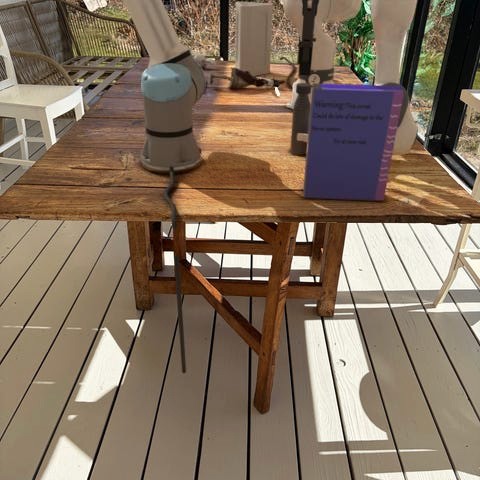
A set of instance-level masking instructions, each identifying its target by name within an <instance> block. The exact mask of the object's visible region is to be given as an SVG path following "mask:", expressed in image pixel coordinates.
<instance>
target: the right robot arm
mask: <svg viewBox="0 0 480 480" xmlns="http://www.w3.org/2000/svg"><path fill="white" fill-rule="evenodd" d="M362 2H363V1H362V0H319V4H318V9H317V15H316V16H315V22H314V37H313V38H316V42H313V51H312V62H311V70H310V76H309V75H299V69H297V80H295V81H294V82H293V84H291V83H290V79H291V77H292V76H293V74H294V73H295V70H296V65H295V64H294V63H293V62H292V61H290V60H289V59H288V58H287V57H285V56H281V57H279V61H282V60H285V61H286V62H287V63H288V64H290V65H291V66H292V70H291V72H290V74H289V75H288V76H287V79H286V83H287V85H288V87H289V88H290V89H291V90H292V91H291V100H289V101H288V102H286V104H285V107H286V108H288V109H292V110H293V106H294V103H295V101H296V98H297V96H298V94H297V93H296V86H297V84H298V83H308V84H311V93H310V94H308V97H309V101H310V104H311V98H312V87H313V84H335V82H334V80H333V79H334V75H335V67H334V64H335V53H336V43H335V41H334V39H333V38H332V37H331V36H330V35H328V34H326V33H324V31H323V23H338V22H344V21H349V20H351V19H354V18H356V17H357V15H358V13H359V12H360V10H361V8H362ZM417 3H418V0H369V5H370V7H369V8H370V17H371V24H372V30H373V35H374V41H375V64H374V65H375V66H374V80H373V81H374V82H373V85H382V86H399V87H401V88H402V89H403V91H404V95H403V100H402V105H401V111H400V116H399V121H398V127H397V132H396V137H395V142H394V148H393V153H392V156H403V155H406V154H408V153H409V152H410V151H412V149H413V147H414V146H415V143H416V141H417V137H418V134H419V126H418V125H417V124H416V123H415V120H414V117H413V113H412V111H411V103H410V96H409V93H408V91H407V89H406V88H405V87H404V86H403V85H401V84H400V69H401V68H400V67H401V55H402V54H401V53H402V47H403V43H404V41H405V37H406V34H407V33H408V30H409V29H410V26H411V25H412V22H413V20H414V16H415V13H416V8H417ZM282 8H283V12H284V15H285V17H286V18H287V20H288V21H290V22H291V23H292V24H293V25H294V27H295V28H296V30H297V32H298V35H299V36H298V37H299V40H300V42H301V41H302V29H303V15H302V8H303V4H302V0H282ZM275 92H276V94H277V96H278V97H279V96H280V92H279V89H278V88H277V87H275ZM297 140H298V141H304V142H308V134H305V133H303V132H302V133H301V132H299V133H298V134H297Z"/></svg>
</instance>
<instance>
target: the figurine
mask: <svg viewBox="0 0 480 480" xmlns="http://www.w3.org/2000/svg"><path fill="white" fill-rule="evenodd" d="M230 69H231V72H230V73H231V74H230V76H229V75H225V74H213V73H211V74H210V78H209V85H212V84H213V83H214V79H215V78H216V79H223V80H227V81H229V84H228V88H229V89H241V88H247V87H249V86H255V87H256V88H262V87H268V88H271V89H273V88H277V89H278V88H280V86H281V85H284V84H286V83H287V79H286V80H285V79H275V78H274V77H272V78H265V77H262V78H261V77H257V76H252V75H251V73H250V72H249V71H245V72H244V71H242V70H240V69H237V68H235V67H232V66H231V67H230Z"/></svg>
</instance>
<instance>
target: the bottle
mask: <svg viewBox="0 0 480 480" xmlns="http://www.w3.org/2000/svg"><path fill="white" fill-rule="evenodd" d="M310 109H311V104H310V101H309V97H308V94H306V95H303V94H298V96H297V98H296V101H295V103H294V106H293V109H292V121H291V135H290V147H289V148H290V149H289V152H290V154H292V155H296V156H304V155H306V153H307V142H304V141H298V140H297V134H298V133H299V132H301V133H302V132H303V133H305V134H308V131H309V120H310Z"/></svg>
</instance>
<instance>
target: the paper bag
mask: <svg viewBox="0 0 480 480" xmlns="http://www.w3.org/2000/svg"><path fill="white" fill-rule="evenodd" d="M273 8H274V4H273V3H269V2H267V3H266V2H265V3H264V2H252V1H235V59H234V60H235V62H234V63H235V65H234V66H235V67H234V68H237V69H240V70H242V71H244V72H245V71H249V72H250V73H251V75H252V76H256V77H257V76H259V75H260V76H261V75H266V74H270V73H271V56H272V55H271V54H272V33H273V32H272V31H273V10H274V9H273Z"/></svg>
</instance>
